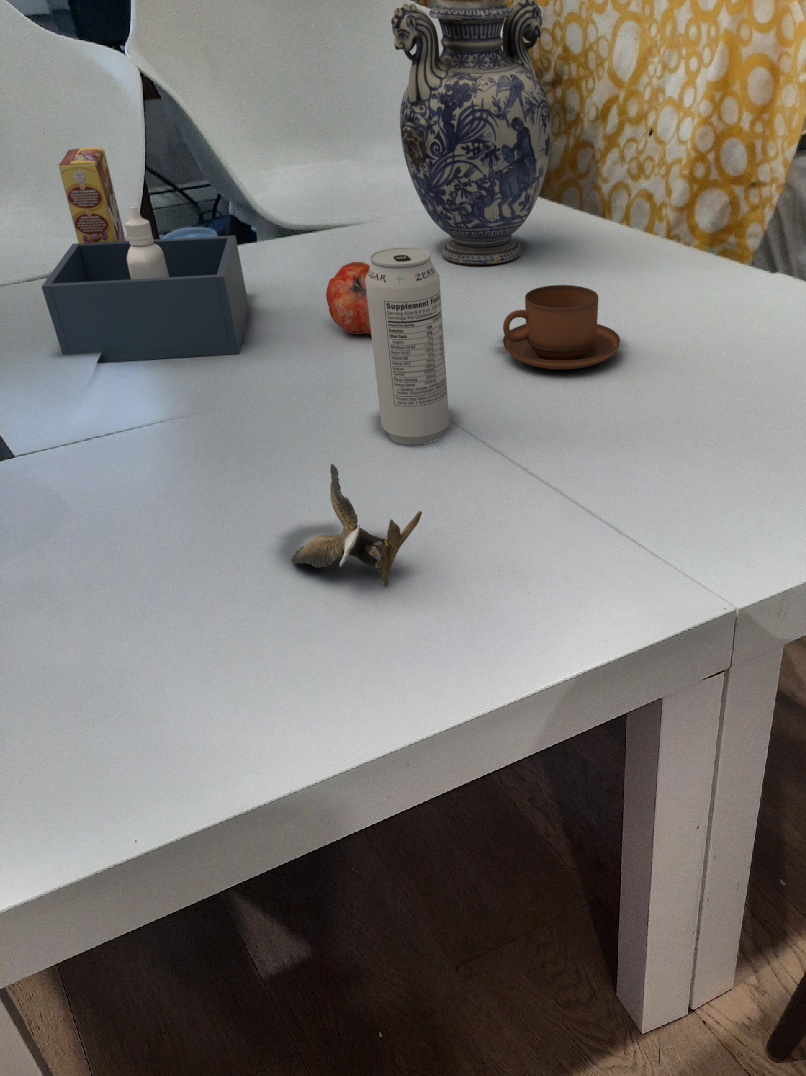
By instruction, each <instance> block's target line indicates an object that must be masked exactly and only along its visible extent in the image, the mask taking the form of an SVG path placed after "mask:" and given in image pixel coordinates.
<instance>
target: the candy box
mask: <svg viewBox="0 0 806 1076" xmlns="http://www.w3.org/2000/svg"><path fill="white" fill-rule="evenodd" d="M58 169H59V173H60V177H61V180H62V185H63V189H64V192H65V195H66V199H67V204H68V208H69V211H70V215H71V219H72V224H73V227H74V231H75V235H76V239H77V243H97V242H117V241H127V240H126V236H125V232H124V227H123V223H122V219H121V215H120V210H119V205H118V203H117V198H116V194H115V189H114V186H113V185H114V184H113V180H112V177H111V172H110V168H109V164H108V160H107V155H106V150H105V148H102V147H81V148H73V149H72V148H71V149H68V150H67V151H66V154H65V155H64V157H63V158H62V160H61V161H60V162H59V163H58Z"/></svg>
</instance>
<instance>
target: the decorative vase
mask: <svg viewBox="0 0 806 1076" xmlns="http://www.w3.org/2000/svg"><path fill="white" fill-rule="evenodd" d="M393 13H394V15H393V16H392V18H391V20H390V22H391V29H392V30H391V31H392V33H393V36H394V42H393V47H394V49H395V50H396V51H400V50H401V51H403V52H404V54H405V57H406V58H407V59H408V60H409V61H410V62H411V66H410V69H409V75H408V83H407V85H406V88H405V90H404V93H403V95H402V99H401V102H400V109H399V110H400V111H399V130H400V138H401V146H402V150H403V156H404V160H405V164H406V168H407V172H408V174H409V177H410V179H411V182H412V185H413V188H414V190H415V192H416V194H417V196H418V198H419V200H420V202H421V204H422V206H423V208H424V209H425V212H426V213H427V214H428V216H429V217H430V219H431V220H432V221H433V223H435V225H436V226H437V227H438V228H439V229H440V230H441V231H443V232H444V233H446V234H447V235H448V236H450V238H451V240H449V241H448V242H447V243H446V244H445V245H444V246H443V247H442V250H441V257H442V258H443V259H444V261H447V262H450V263H454V264H458V265H464V266H465V265H466V266H488V265H489V266H490V265H499V264H503V263H507V262H511V261H514V260H516V259H518V258H520V257H521V255H522V253H523V251H522V247H521V244H520V243H519V242H518V241H517V240H515V239H513V238H512V235H513V234H514V233H516V232H517V230H519V229H520V227H522V226H523V224H524V223H525V222H526V221H527V219H528V218H529V216H530V214H531V212H532V211H533V208H534V207H535V205H536V202H537V201H538V197H539V196H540V193H541V190H542V187H543V183H544V180H545V177H546V174H547V173H546V172H547V169H548V166H549V165H548V164H549V159H550V151H551V143H552V120H551V119H552V118H551V111H550V104H549V100H548V96H547V93H546V91H545V88H544V87H543V85H542V83H541V81H540V80H539V79H538V77H537V75H536V72H535V69H534V65H533V60H532V56H531V55H530V52H529V51H530V49H532V48H533V47H535V45H536V44H537V42H538V39H540V38H541V36H542V35H543V34H542V28H541V27H542V25H543V17H542V9H541V8H540V7H539V2H538V1H537V0H518V1H517V3H516V4H515V5H514V6H512V7H510V6H508V5H507V3H506V0H436V6H434V7H432V8H431V9H430V10H429V13H428V14H427V13H426V12H424V11H423V10H421V9H419V8H418V7H417V5H416V4H414V3H410V4H409V5H408V4H407V3H403V4H402V5H401V7H396V8H395V9H394V12H393ZM430 17H431V18H432V19H437V20H438V23H439V27H440V29H441V34H442V37H441V39H440V42H439V36H438V31H437V27H436V25H435V24H434V22H433V20H432V19H431V18H430ZM525 40H526V41H527V42H525ZM439 43H440V44H441V46H442V51H441V53H440V44H439ZM415 47H416V48H415ZM414 48H415V52H414V53H411V52H412V51H413V49H414Z"/></svg>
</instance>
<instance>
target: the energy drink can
mask: <svg viewBox="0 0 806 1076" xmlns="http://www.w3.org/2000/svg"><path fill="white" fill-rule="evenodd" d="M369 259H370V262H371V263H370V265H369V266H370V268H369V270H368V273H367V275H366V279H365V283H366V292H367V301H368V310H369V319H370V327H371V334H370V335H371V344H372V353H373V361H374V370H375V371H374V372H375V379H376V388H377V397H378V405H379V414H380V422H381V428H382V429H383V430H384V432H386V433H388V436H389V438H390V439H391V440H392V441H393V442H395V443H398V444H400V445H401V444H402V445H410V446H419V444H420V445H425V443H426V444H430V443H432V442H431V441H433V442H435V441H434V440H436V439H438V438H439V439H441V438H442V437H443V436H444V434H445V430H446V428H447V427H448V426H449V425H450V411H449V395H448V386H447V385H448V384H447V382H448V381H447V370H446V368H447V366H446V355H445V338H444V337H445V336H444V325H443V309H442V297H441V296H442V295H441V282H440V281H441V280H440V274H439V273H438V270H436V268H435V266H434V264H433V262H432V261H431V253H430V252H429V251H427V250H426V249H422V248H417V247H407V246H406V247H404V246H403V247H400V246H399V247H391V248H385V249H380V250H377V251H375V252H373V253H371V255H370V258H369ZM443 433H444V434H443ZM442 435H443V436H442ZM441 436H442V437H441ZM440 437H441V438H440ZM439 439H438V440H439ZM436 441H437V440H436ZM429 442H430V443H429Z"/></svg>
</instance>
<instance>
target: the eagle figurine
mask: <svg viewBox="0 0 806 1076" xmlns="http://www.w3.org/2000/svg"><path fill="white" fill-rule="evenodd" d="M329 469H330V470H329V473H330V479H331V481H330V487H329V488H330V489H329V490H330V493H329V496H330V503H331V506H332V508H333V509H332V510H333V511H334V514H335V515H336V517H337V518H338V520H339V521H340V523H341V525H342V527H343V529H342V531H341V533H340V534H338V535H316V536H314V537H313V538H311V539H309V540H308V542H307V543H306V544H305V545H303V546H301V547H300V548H299V549H297V550H295V554H294V555H293V556H292V558H291V559H290V561H291V563H292V564H293V565H298V564H301V565H303V564H307V565H311V566H312V567H315V568H316V569H317V568H323V567H325V568H326V567H329V566H330V565H333V563H334V561H336V560H337V559H338V558H339V556H341V557H342V558H341V560H340V562H339V568H341V567H343V565H345V563H346V560H347V558H348V556H351V557H355V558H356V559H358V561H360V562H361V563H363V564H366V565H368V566H370V567H372V568H375V569H379V572H378V573H379V577H380V579H381V582H382V583H383V586H384V587H387V586H388V585H389V576H390V575H389V574H390V573H391V569H392V565H393V563H394V561H395V558H396V556H397V554H398V552H399V551H400V548H401V547H402V545H403V544H404V543H405V541H406V540H407V539H408V537H410V535H411V533H412V532H413V531H414V529H415V528H416V527H417V526H418V524H419V523H420V520H421V516H422V514H423V511H422V510H419V511H418V512H416V514H415V516H413V518H412V519H411V520H410V521H409V522H408V524H407V525H406V526H405V527H404V529H403V530H402V531H401V528H400V526H399V525H398V524H397V523H396V522H395V520H393V519H392V518H391V519H390V520H389V522H388V529H387V532H386V538H383V537H382V538H381V537H378V536H377V535H373V534H371V533H369V532H368V531H367V530H365V529H364V528H362V527H361V526H360V524H358V521H359V520H358V514H357V513H356V510H355V508H354V506H353V504H352V503H351V500H350V498H348V497H346V496H345V495H343V492H342V491H341V490H342V489H341V488H342V487H341V485H340V478H339V470H338V467H336V465H334V464H333V463H330V467H329ZM376 550H377V551H376ZM375 556H379V558H380V559H379V560H378V558H376V557H375Z"/></svg>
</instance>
